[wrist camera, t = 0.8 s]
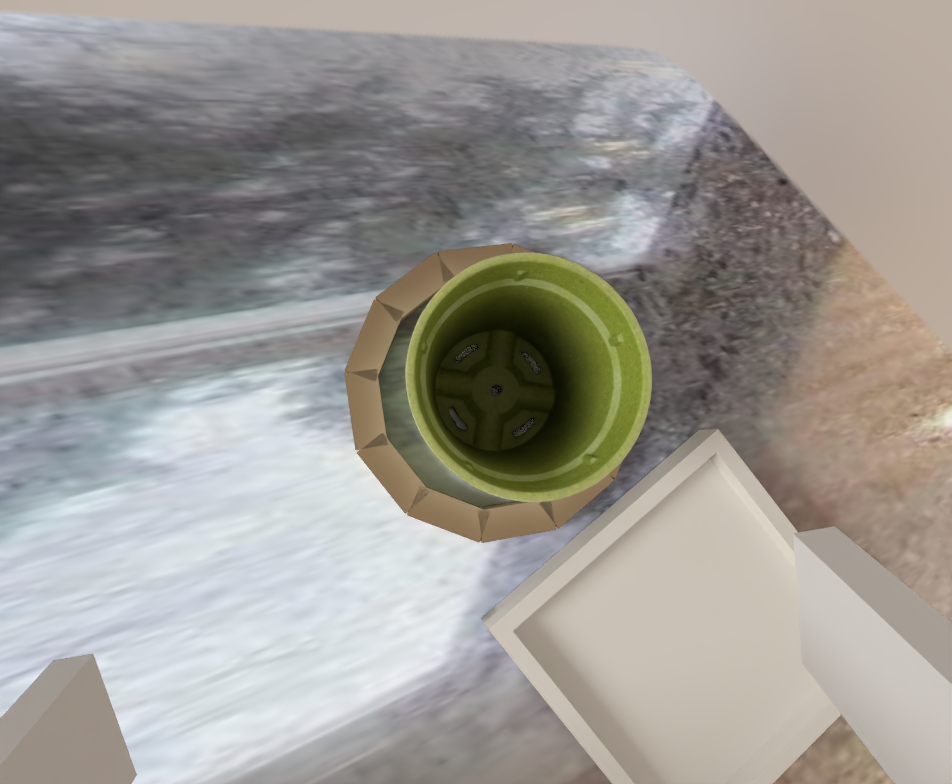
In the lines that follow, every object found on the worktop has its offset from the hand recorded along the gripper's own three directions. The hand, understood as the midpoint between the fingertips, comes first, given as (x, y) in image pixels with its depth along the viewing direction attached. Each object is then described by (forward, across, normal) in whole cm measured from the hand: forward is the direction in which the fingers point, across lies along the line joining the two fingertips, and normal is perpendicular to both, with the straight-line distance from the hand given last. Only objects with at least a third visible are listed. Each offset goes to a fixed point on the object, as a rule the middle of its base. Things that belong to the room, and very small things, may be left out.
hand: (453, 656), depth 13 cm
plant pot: (+22, +2, -1) cm, 22 cm away
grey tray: (+19, +9, -14) cm, 26 cm away
